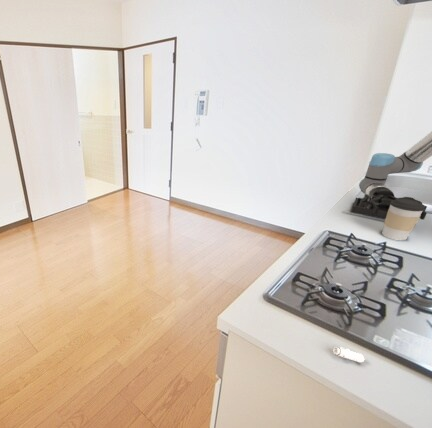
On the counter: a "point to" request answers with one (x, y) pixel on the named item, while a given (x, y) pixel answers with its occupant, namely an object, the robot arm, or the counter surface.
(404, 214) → the coffee cup
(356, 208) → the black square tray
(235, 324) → the counter surface
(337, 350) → the small white plastic part
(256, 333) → the counter surface
